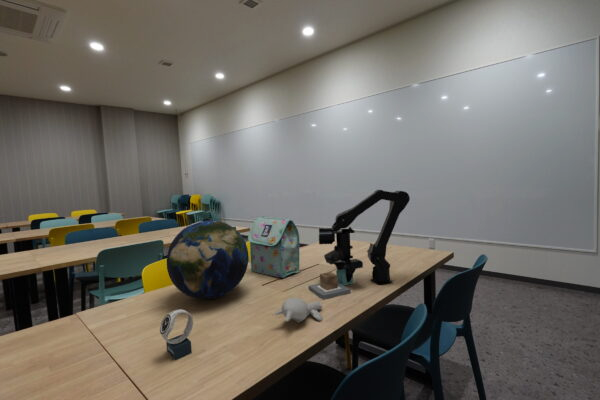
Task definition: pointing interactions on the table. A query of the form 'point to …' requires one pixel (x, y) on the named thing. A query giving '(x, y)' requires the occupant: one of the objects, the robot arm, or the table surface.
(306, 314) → the toy creature
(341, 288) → the baseplate
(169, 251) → the globe
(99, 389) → the table surface
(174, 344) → the watch
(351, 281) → the teal block
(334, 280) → the walnut block
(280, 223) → the lunch bag
